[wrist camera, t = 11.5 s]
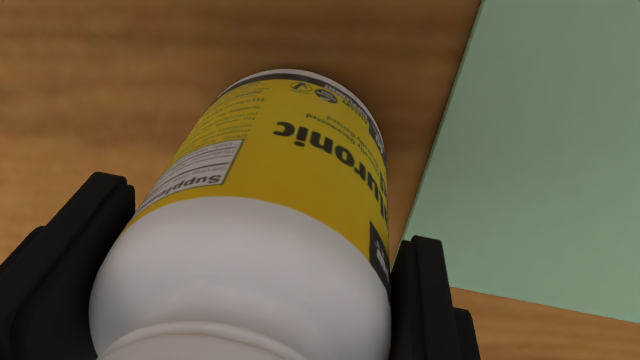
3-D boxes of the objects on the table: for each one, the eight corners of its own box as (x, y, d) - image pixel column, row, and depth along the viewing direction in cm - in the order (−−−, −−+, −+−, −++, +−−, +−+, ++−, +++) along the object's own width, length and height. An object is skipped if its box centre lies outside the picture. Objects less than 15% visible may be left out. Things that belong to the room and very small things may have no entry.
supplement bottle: (419, 182, 15) (471, 573, 7) (270, 249, 17) (170, 619, 9) (321, 22, 13) (225, 312, 5) (163, 120, 15) (-106, 450, 7)
